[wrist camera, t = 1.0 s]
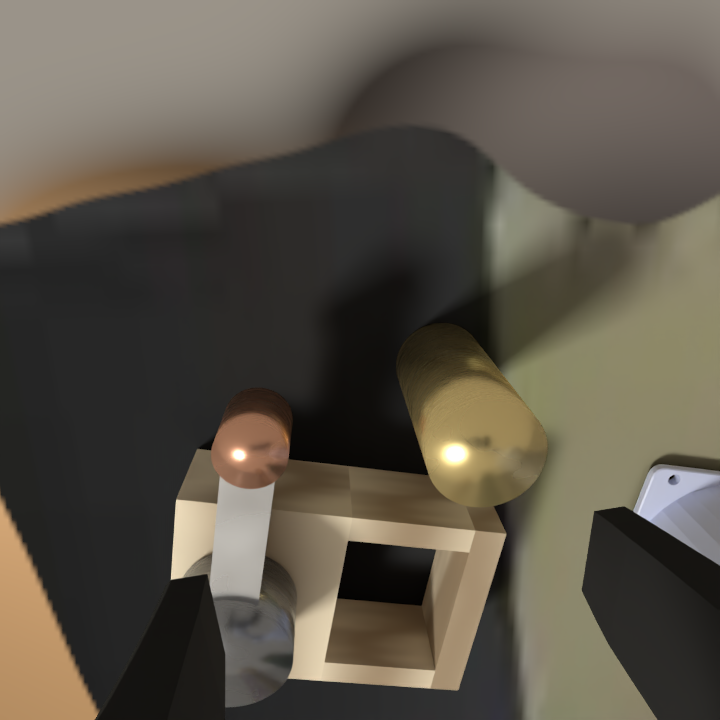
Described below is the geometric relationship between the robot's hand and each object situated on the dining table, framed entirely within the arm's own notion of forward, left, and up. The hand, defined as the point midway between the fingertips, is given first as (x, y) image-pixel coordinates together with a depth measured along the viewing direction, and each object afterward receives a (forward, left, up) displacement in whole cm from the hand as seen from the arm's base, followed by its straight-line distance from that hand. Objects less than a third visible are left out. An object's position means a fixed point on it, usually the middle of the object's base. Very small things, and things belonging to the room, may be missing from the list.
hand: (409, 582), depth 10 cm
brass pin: (-3, 0, -12) cm, 13 cm away
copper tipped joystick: (+4, +6, -9) cm, 11 cm away
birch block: (0, +9, -12) cm, 15 cm away
